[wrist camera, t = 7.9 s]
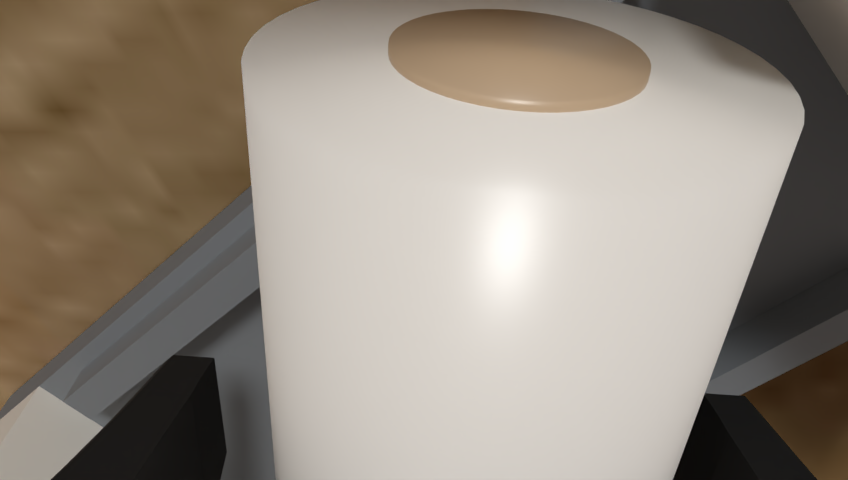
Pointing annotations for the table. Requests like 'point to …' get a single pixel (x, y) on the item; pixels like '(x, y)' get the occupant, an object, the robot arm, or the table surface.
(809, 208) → the holder
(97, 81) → the table surface
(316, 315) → the cylinder
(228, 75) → the table surface
